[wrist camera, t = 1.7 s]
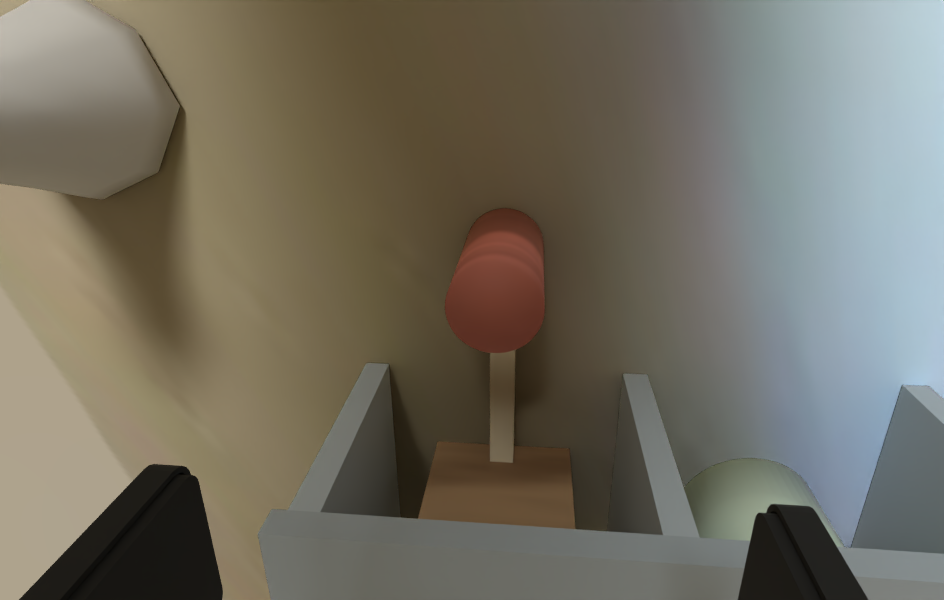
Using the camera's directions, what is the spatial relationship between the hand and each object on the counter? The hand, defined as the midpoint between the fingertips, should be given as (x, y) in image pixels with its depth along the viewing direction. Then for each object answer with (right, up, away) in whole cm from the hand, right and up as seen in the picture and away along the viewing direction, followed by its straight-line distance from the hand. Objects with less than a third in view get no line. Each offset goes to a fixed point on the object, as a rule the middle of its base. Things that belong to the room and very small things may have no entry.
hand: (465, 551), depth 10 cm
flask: (-15, +12, +13) cm, 23 cm away
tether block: (+1, 0, +16) cm, 16 cm away
